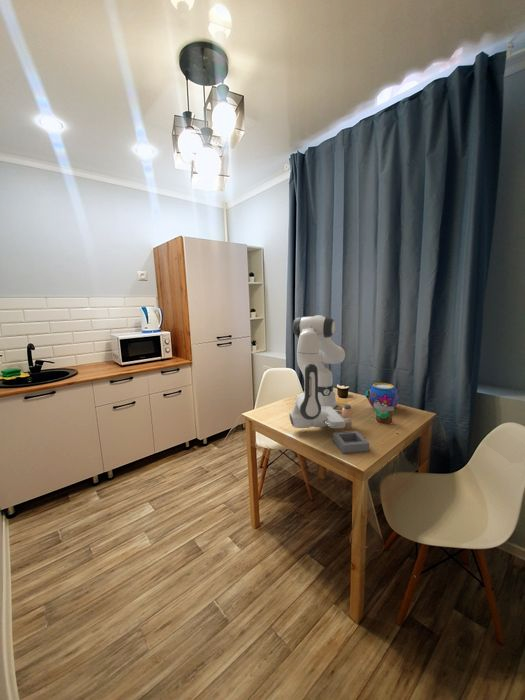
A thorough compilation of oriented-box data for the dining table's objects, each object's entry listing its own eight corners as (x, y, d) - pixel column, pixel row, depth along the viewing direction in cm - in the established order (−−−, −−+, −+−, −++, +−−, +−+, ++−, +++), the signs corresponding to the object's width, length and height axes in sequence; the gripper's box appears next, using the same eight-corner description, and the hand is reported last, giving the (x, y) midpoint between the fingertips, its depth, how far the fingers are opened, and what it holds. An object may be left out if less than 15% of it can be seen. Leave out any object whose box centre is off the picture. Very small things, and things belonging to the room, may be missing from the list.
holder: (333, 440, 131) (333, 432, 131) (356, 438, 133) (357, 430, 132) (342, 453, 120) (343, 445, 119) (369, 451, 121) (369, 443, 120)
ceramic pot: (372, 401, 179) (372, 379, 177) (401, 407, 168) (403, 384, 166) (362, 410, 166) (363, 386, 163) (394, 417, 155) (395, 391, 152)
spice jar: (340, 425, 147) (340, 404, 144) (349, 425, 147) (349, 403, 145) (344, 430, 142) (344, 407, 140) (353, 429, 142) (353, 407, 140)
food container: (368, 418, 155) (368, 401, 153) (377, 416, 157) (377, 399, 155) (384, 426, 144) (385, 408, 142) (393, 424, 146) (394, 406, 144)
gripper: (327, 420, 131) (355, 418, 133) (315, 405, 151) (339, 403, 153) (327, 432, 132) (355, 430, 134) (315, 415, 152) (339, 413, 154)
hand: (346, 415), depth 143 cm, fingers open, 8 cm apart
